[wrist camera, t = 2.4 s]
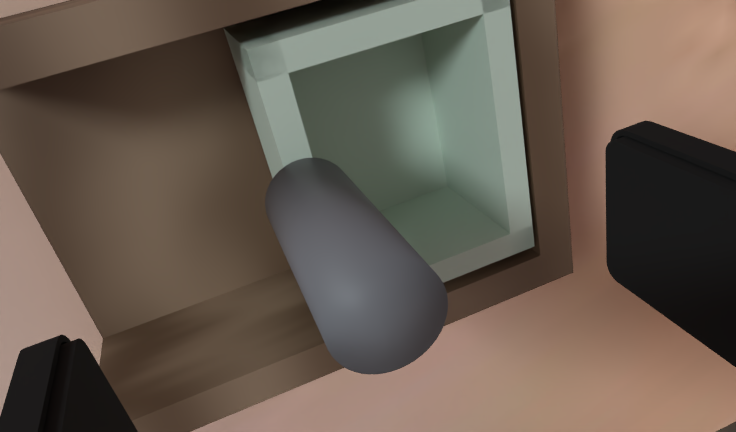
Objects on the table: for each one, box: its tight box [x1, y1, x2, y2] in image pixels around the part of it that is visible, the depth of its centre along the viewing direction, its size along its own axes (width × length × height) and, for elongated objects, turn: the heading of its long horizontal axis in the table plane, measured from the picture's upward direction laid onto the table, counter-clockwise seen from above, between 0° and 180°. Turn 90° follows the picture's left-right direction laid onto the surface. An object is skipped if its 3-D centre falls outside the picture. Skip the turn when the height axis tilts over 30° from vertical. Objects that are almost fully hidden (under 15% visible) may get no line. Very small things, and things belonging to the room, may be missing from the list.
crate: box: [224, 0, 535, 374], centre depth 16 cm, size 8×8×11 cm
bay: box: [0, 0, 573, 432], centre depth 18 cm, size 16×12×6 cm
